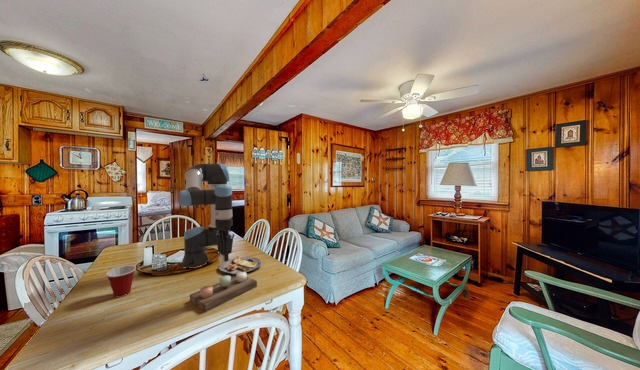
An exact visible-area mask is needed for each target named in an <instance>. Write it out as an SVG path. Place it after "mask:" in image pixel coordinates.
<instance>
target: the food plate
mask: <svg viewBox="0 0 640 370" xmlns="http://www.w3.org/2000/svg"><path fill="white" fill-rule="evenodd" d="M262 264H263V261H262V260H260V259H259V258H256V257H250V256H249V257H248V256H246V257H244V256H243V257H239V256H236V257H235V258H232V259H229V260H228V265H229V267H227V268H224V269H223V268H222V267H221V264H219V266H218V270H219V271H221V272H224V273H226V274H231V275H236V274H237V273H240V272H246V273H247V272H251V271H254V270H256V269H258V268H259V267H261V266H262Z"/></svg>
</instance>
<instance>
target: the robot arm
mask: <svg viewBox="0 0 640 370" xmlns="http://www.w3.org/2000/svg"><path fill="white" fill-rule="evenodd" d="M184 173H185V174H184V179H185V189H184V190H183V189H182V190H180V191H179V194H178V196H179V198H178V201H179V205H180V206H182V207H191V206H192V207H193V206H207V205H210V224H209V225H208V228H206V227H205V226H196V227H192V228H188V229H187V230H185V231H184V235H183V240H184V241H183V243H184V246H183V247H184V253H183V254H184V255H183V258H182V262H181V268H182V267H186V268H189V267H197V266H200V265H203V264H205V263H207V262H208V261H209V257H208V254H207V252H206V248H208V247H214V246H217V251H218V253H219V254H220V257H221V258H220V259H221V260H220V261H221V262H220V265H221V267H222V268H223V269H224V268H227V267H229V265H228V260H230V259H229V254H232V251H233V244H234V237H235V233H232V230H231V227H232V226H233V223H234V222H233V216H234V215H233V188H232V186H230V185H228V182H230V173H229V169H228V166H227V165H226V164H224V163H196V164H194V165H192V166H190V167H189V168H188V169H186V171H185V172H184ZM202 182H203V183H205V182H206V183H207V186H209V187H210V188H209V189H203V188H202Z"/></svg>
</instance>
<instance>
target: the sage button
mask: <svg viewBox="0 0 640 370" xmlns="http://www.w3.org/2000/svg"><path fill="white" fill-rule="evenodd" d="M231 278H232V277H231V275H227V274H226V275H223V276H220V277H219V283H220V286H228V285H230V284H231Z"/></svg>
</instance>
